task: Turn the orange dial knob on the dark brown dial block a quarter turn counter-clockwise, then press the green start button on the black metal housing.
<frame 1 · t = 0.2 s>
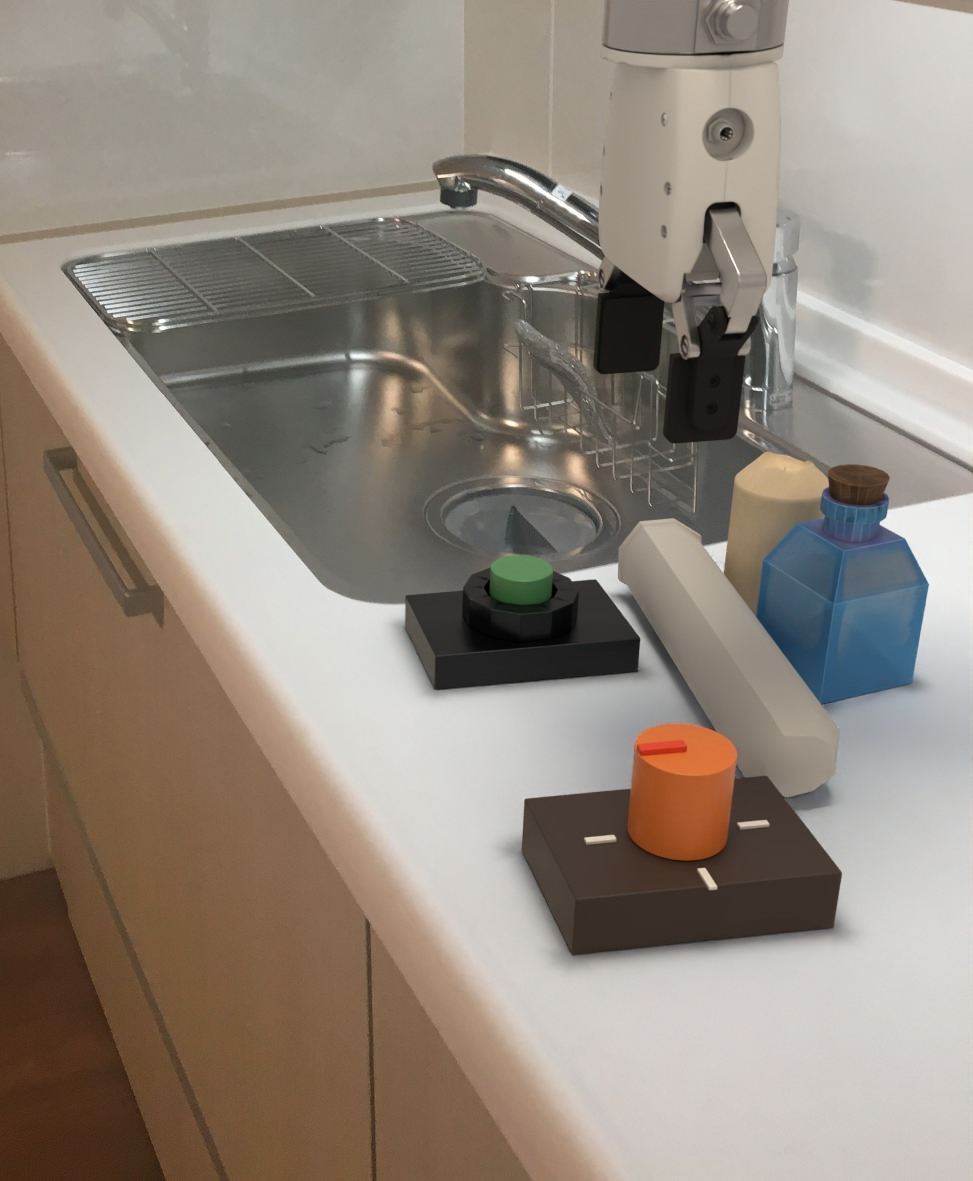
hand: (660, 403, 76), 20 cm above the table, tool pointing down, fingers open, 9 cm apart
button housing: (517, 648, 96), on the table
perfume bottle: (829, 672, 93), on the table
dial knob: (681, 788, 73), point 5 cm above the table, hinge at 0.0°
tube: (720, 690, 91), on the table
start button: (521, 580, 94), point 4 cm above the table, slide at 0.1 cm
candle: (765, 613, 100), on the table
dial block: (671, 887, 75), on the table
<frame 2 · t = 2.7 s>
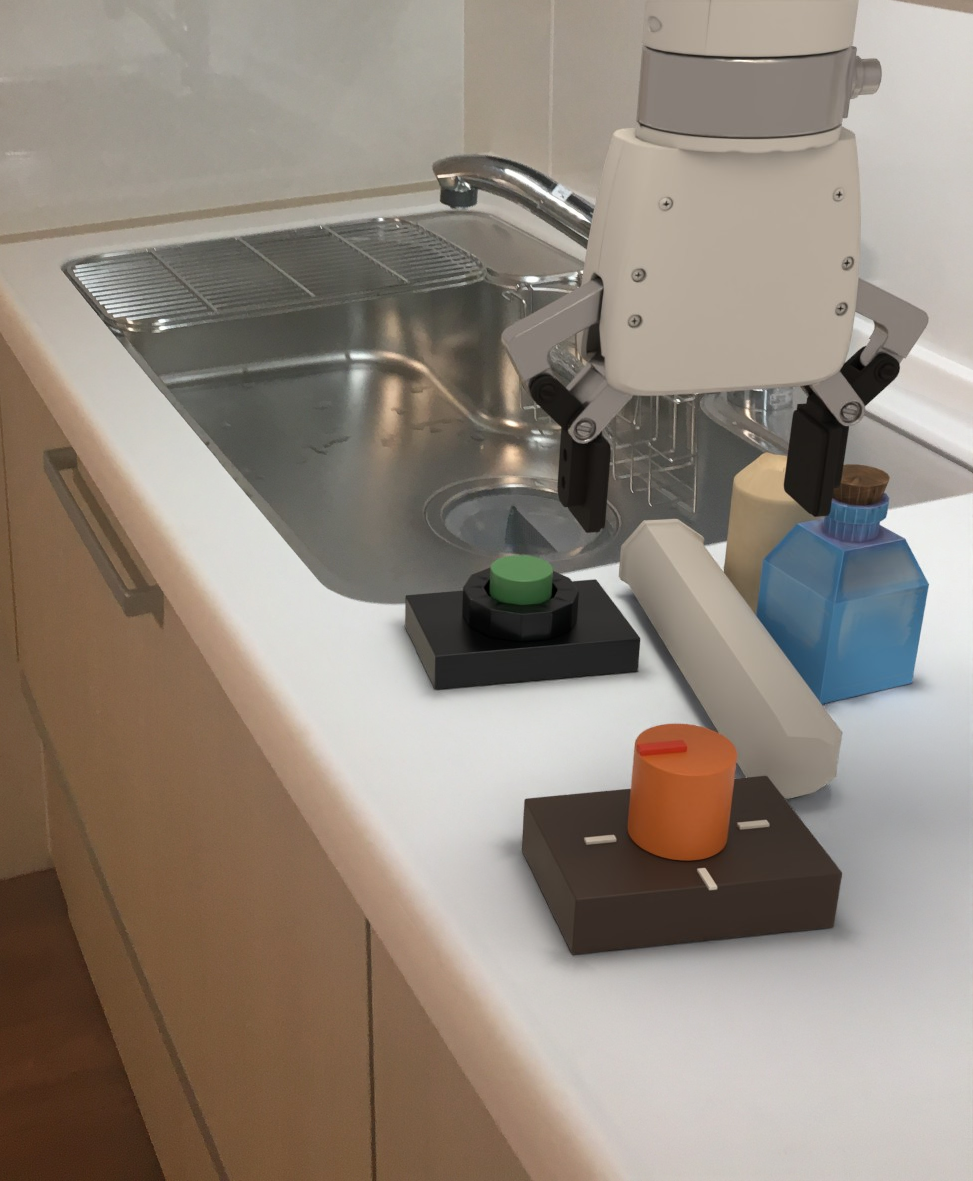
hand: (695, 512, 68), 18 cm above the table, tool pointing down, fingers open, 9 cm apart
nothing on the table moved.
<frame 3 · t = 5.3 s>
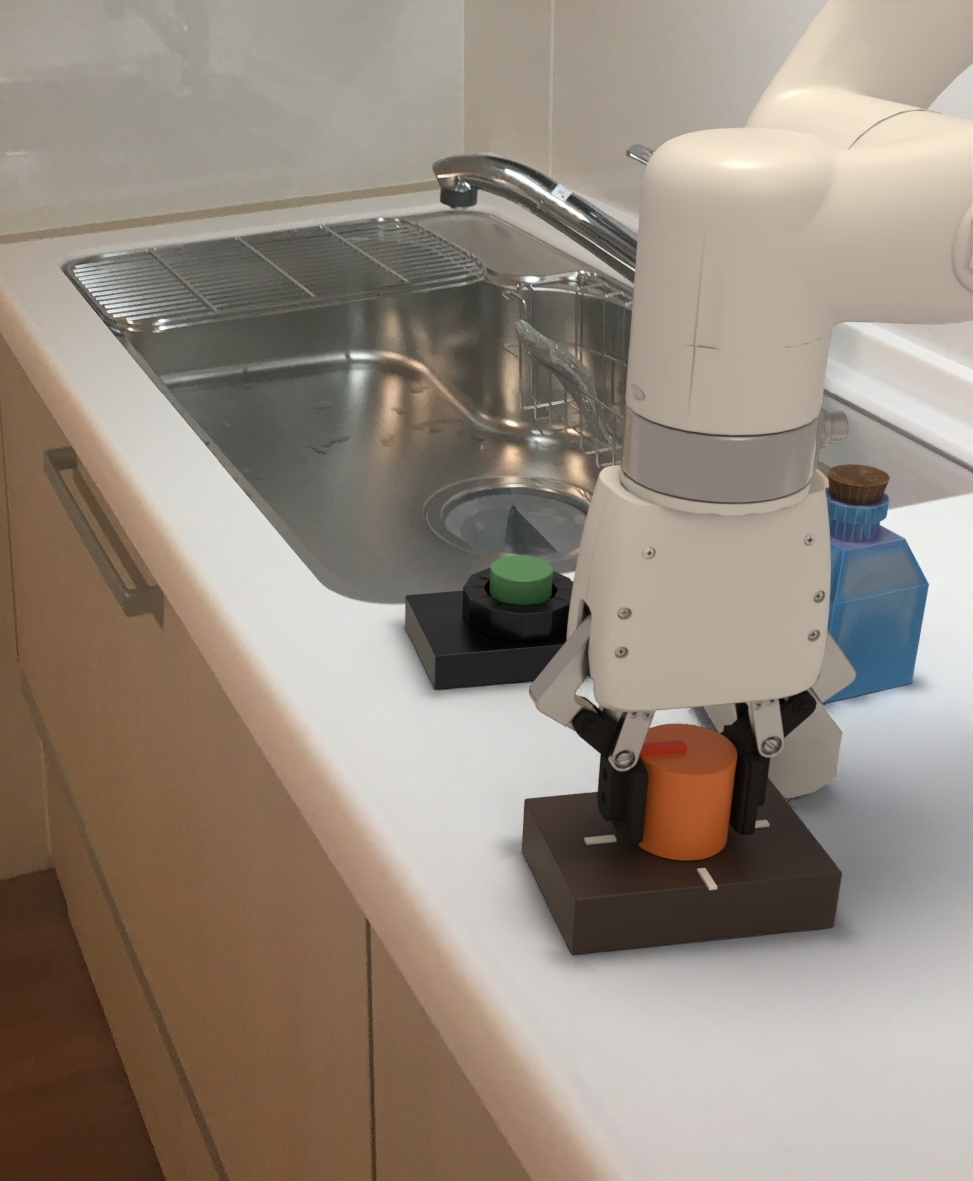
hand: (678, 819, 73), 4 cm above the table, tool pointing down, fingers closed on dial knob, 4 cm apart
dial knob: (681, 788, 73), point 5 cm above the table, hinge at -0.1°, touching gripper
everything else where it was.
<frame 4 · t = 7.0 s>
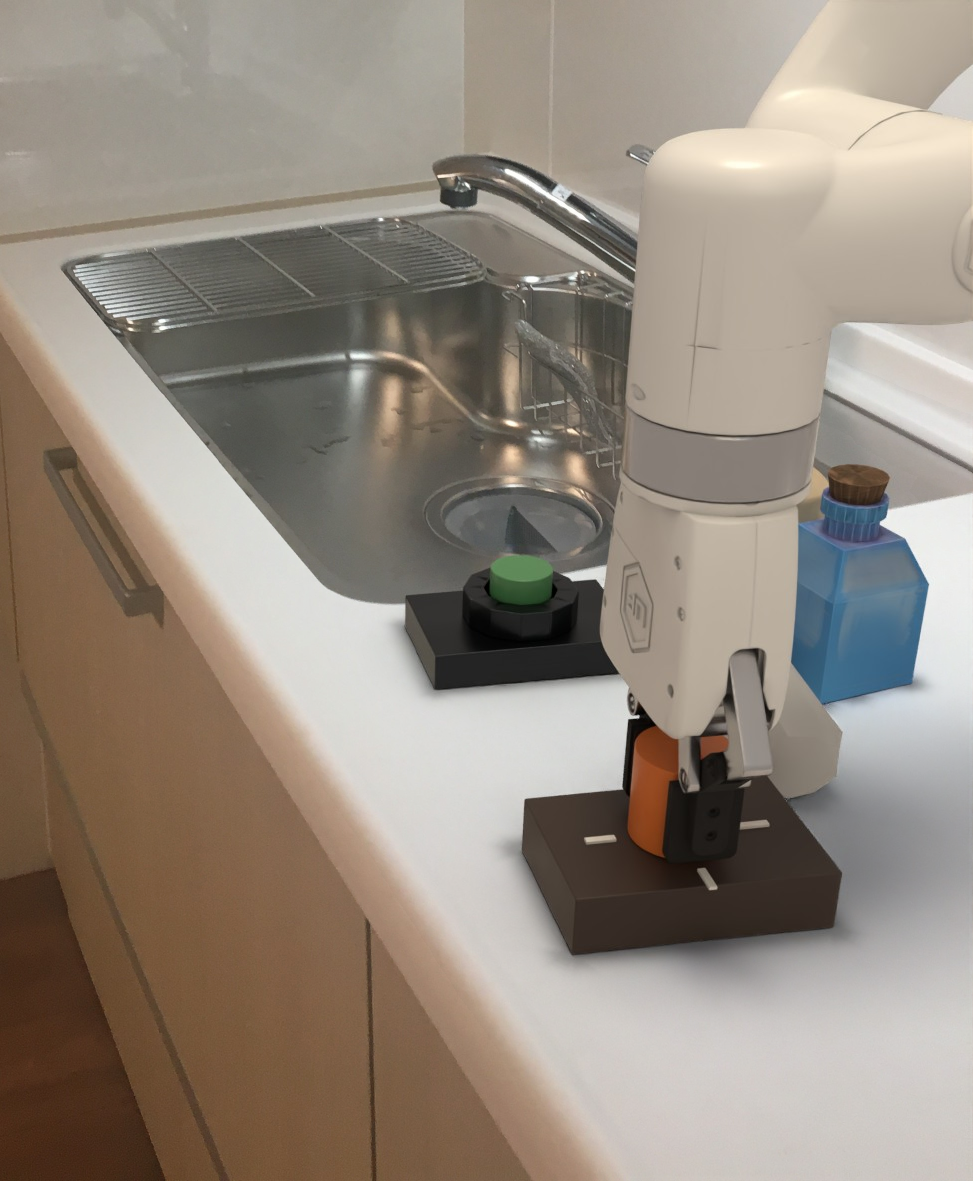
hand: (677, 820, 73), 4 cm above the table, tool pointing down, fingers closed on dial knob, 4 cm apart
dial knob: (681, 788, 73), point 5 cm above the table, hinge at 90.2°, touching gripper
everything else where it was.
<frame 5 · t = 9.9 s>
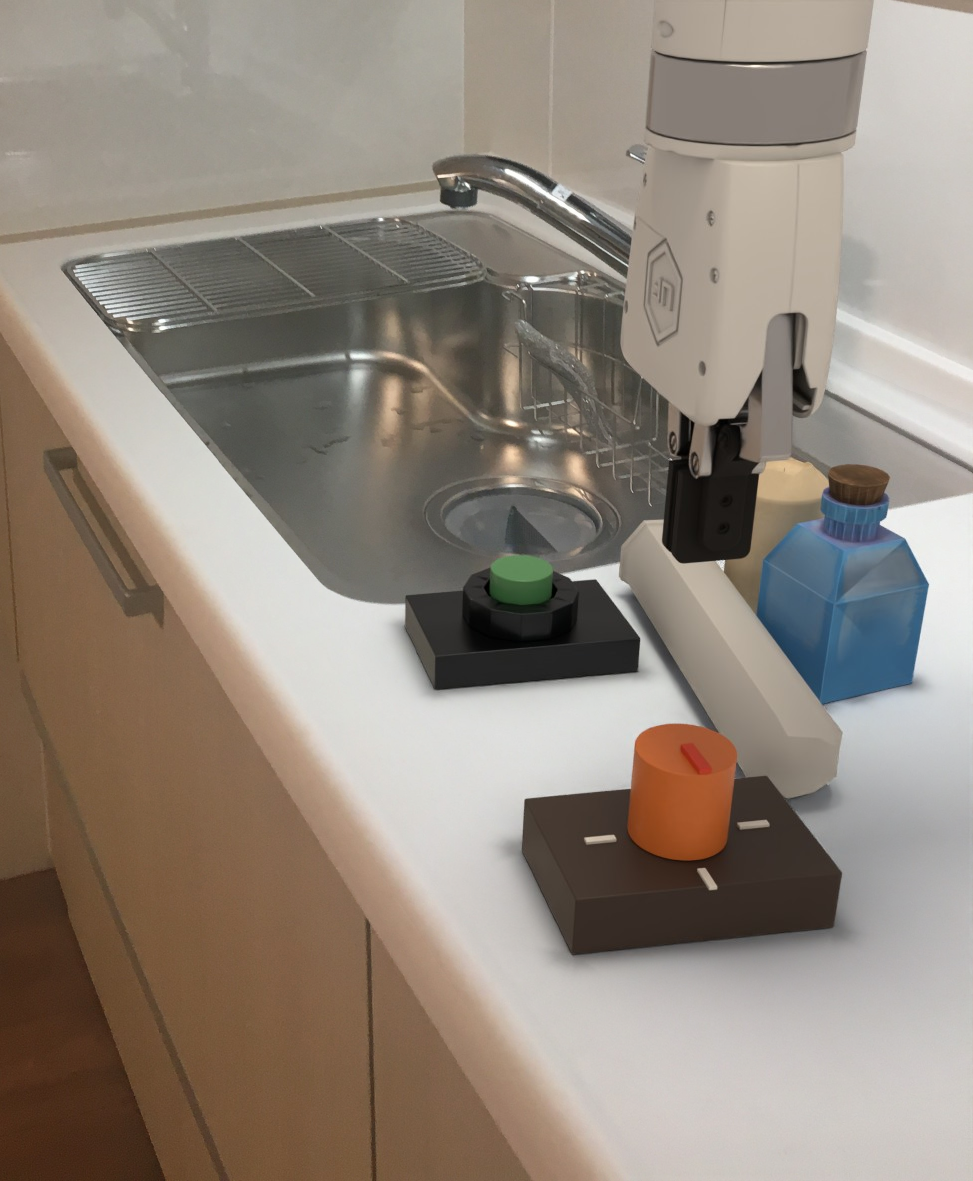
hand: (705, 552, 68), 17 cm above the table, tool pointing down, fingers closed
dial knob: (681, 788, 73), point 5 cm above the table, hinge at 91.2°
everything else where it was.
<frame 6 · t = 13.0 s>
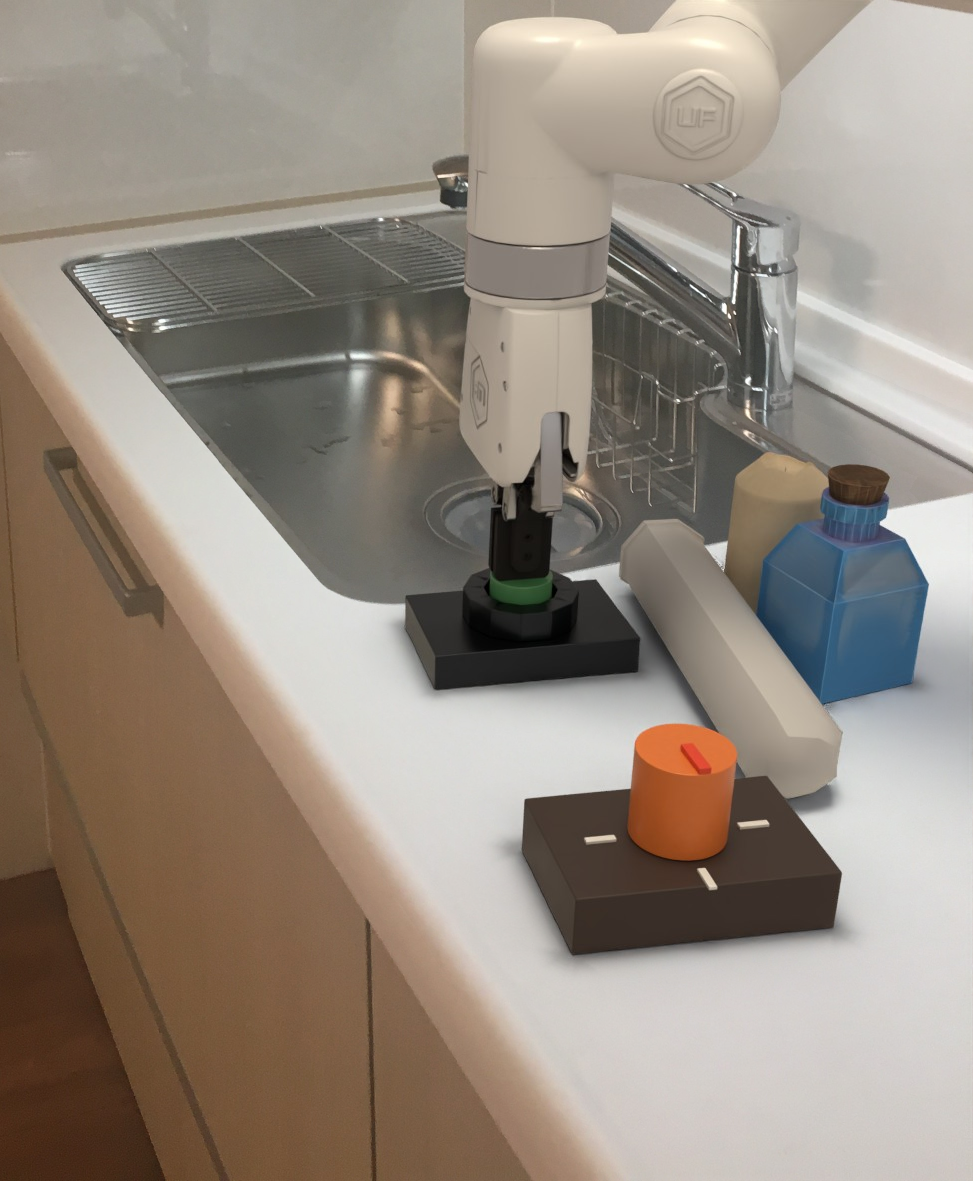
hand: (518, 573, 94), 5 cm above the table, tool pointing down, fingers closed
start button: (520, 587, 95), point 4 cm above the table, slide at -0.3 cm, touching gripper
everything else where it was.
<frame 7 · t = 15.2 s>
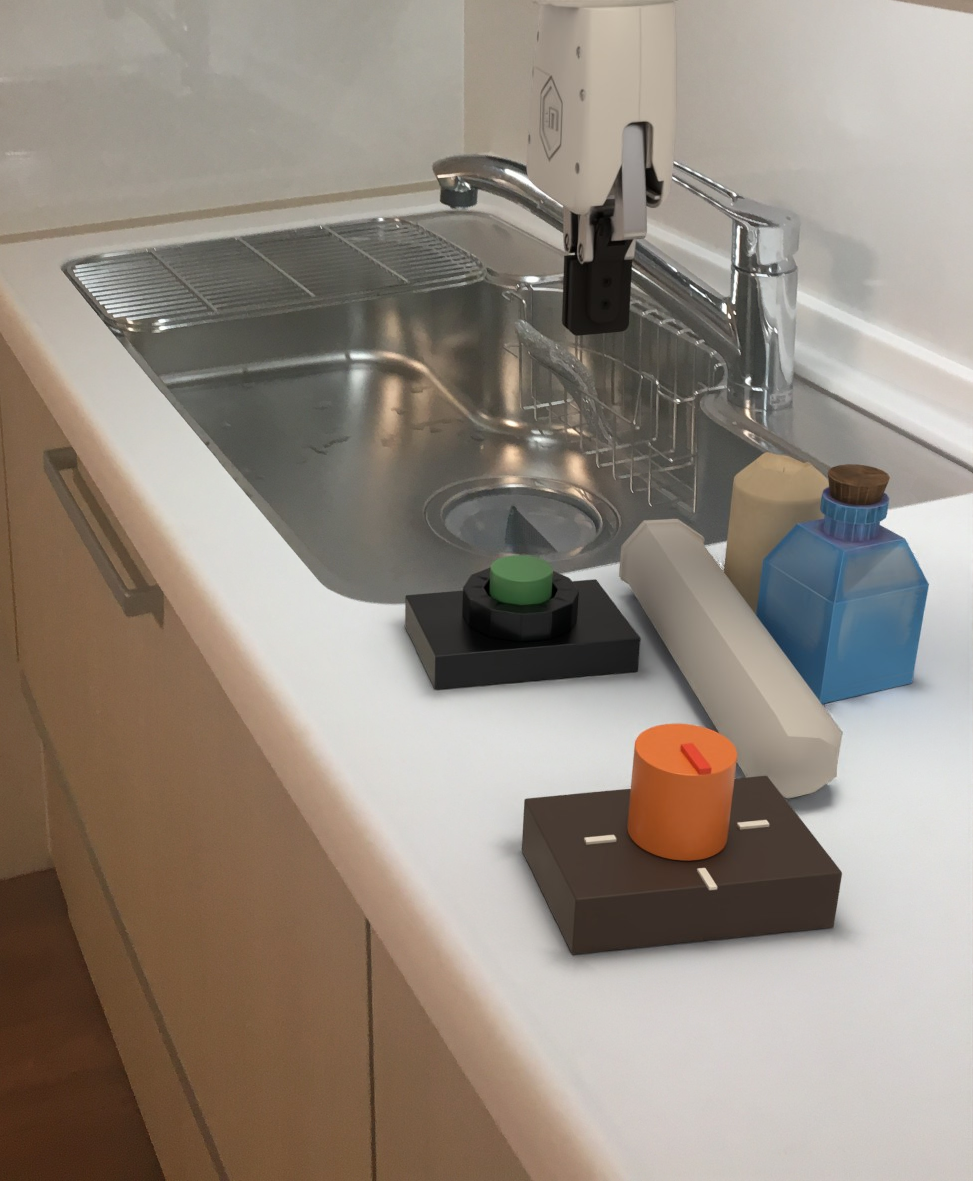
hand: (594, 328, 87), 20 cm above the table, tool pointing down, fingers closed
start button: (521, 580, 94), point 4 cm above the table, slide at 0.1 cm
everything else where it was.
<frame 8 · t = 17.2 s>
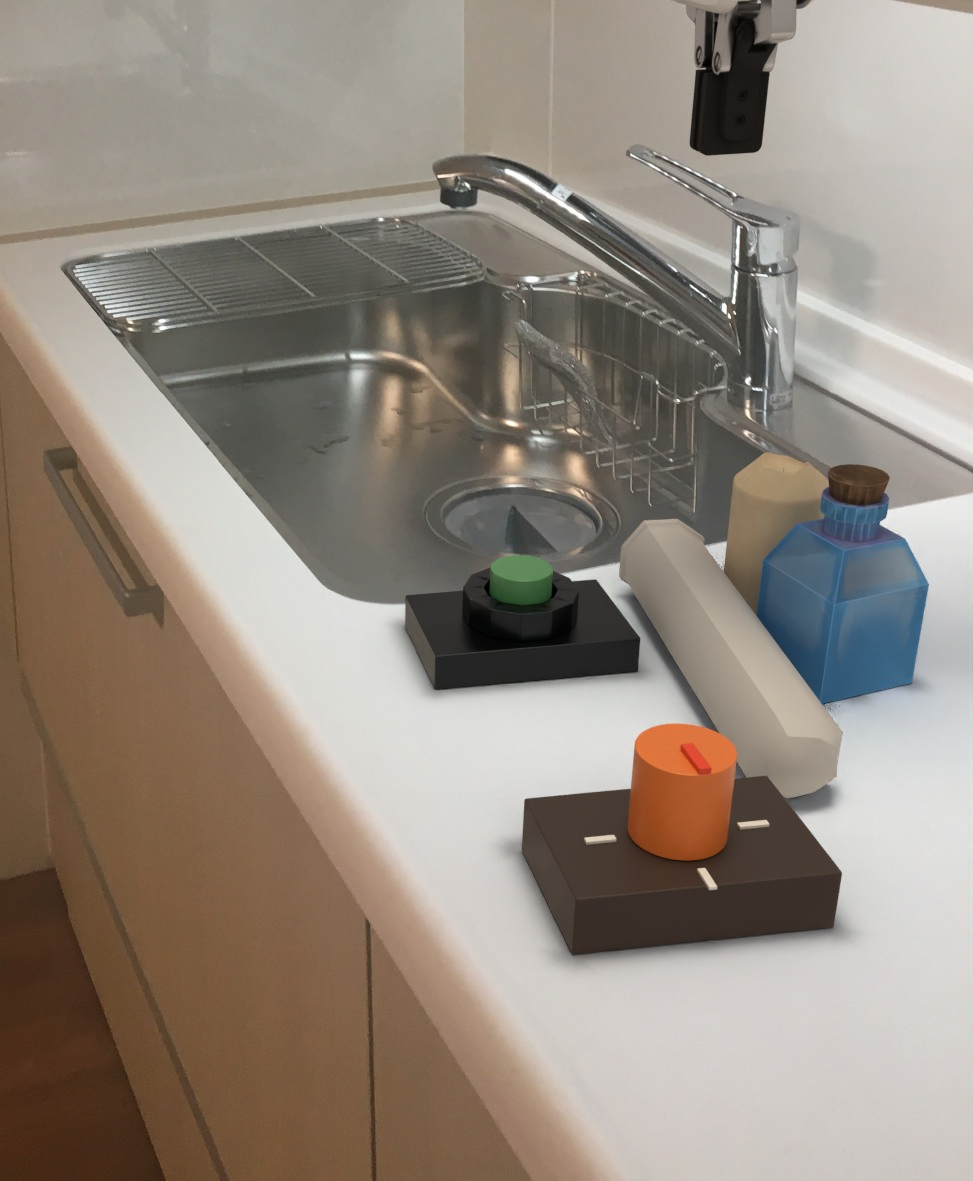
hand: (724, 150, 83), 29 cm above the table, tool pointing down, fingers closed
nothing on the table moved.
at the end: dial knob at +91° (first picture: +0°); start button pushed in 1.1 cm at the most during the clip, back to where it started at the end; start button slide at 0.1 cm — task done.
